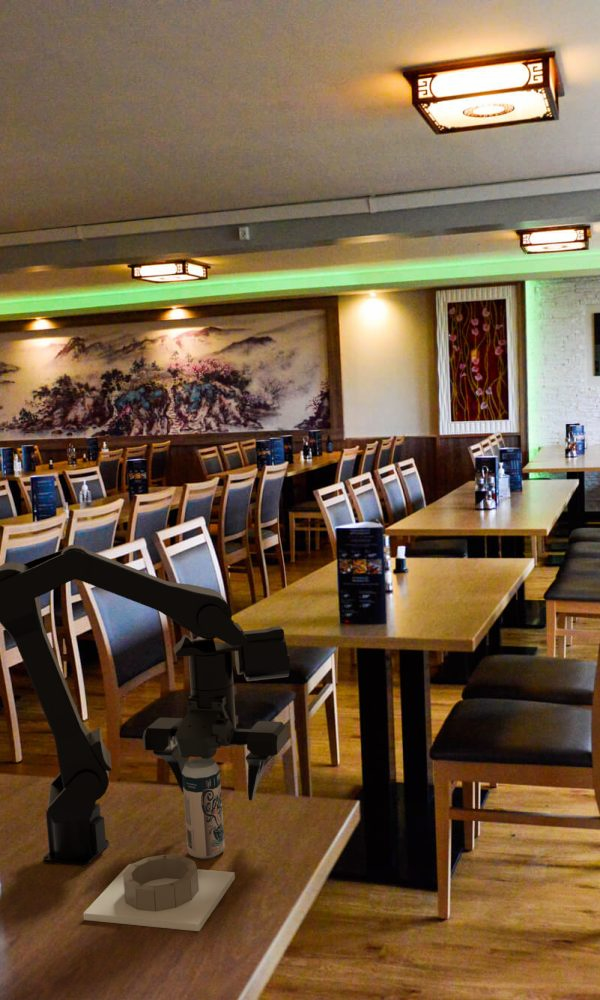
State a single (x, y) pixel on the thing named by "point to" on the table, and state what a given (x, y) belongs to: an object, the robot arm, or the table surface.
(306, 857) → the table surface
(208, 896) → the socket board
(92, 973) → the table surface
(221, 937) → the table surface
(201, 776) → the beer can
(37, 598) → the robot arm
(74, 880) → the table surface
